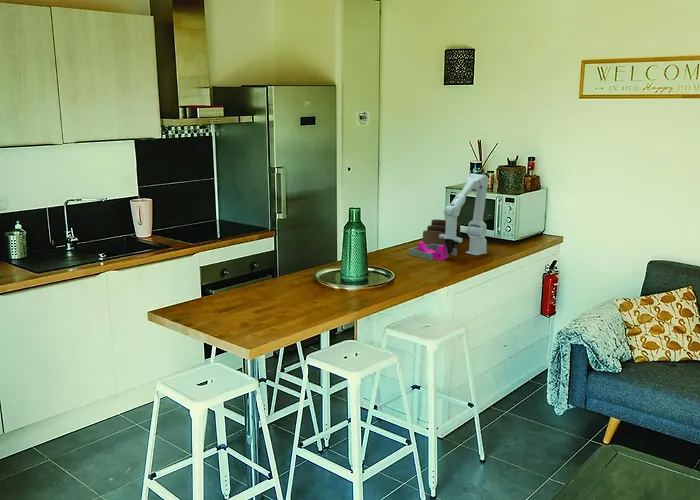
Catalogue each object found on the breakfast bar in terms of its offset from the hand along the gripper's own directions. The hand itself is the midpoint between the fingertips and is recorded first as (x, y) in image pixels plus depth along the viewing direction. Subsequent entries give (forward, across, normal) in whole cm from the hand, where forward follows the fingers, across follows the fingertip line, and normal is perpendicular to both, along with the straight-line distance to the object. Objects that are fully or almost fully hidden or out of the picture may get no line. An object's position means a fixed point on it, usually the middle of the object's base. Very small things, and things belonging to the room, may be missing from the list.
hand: (449, 253), depth 361 cm
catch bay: (+3, -12, 0) cm, 13 cm away
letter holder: (+4, -28, +23) cm, 36 cm away
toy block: (+4, -9, -4) cm, 10 cm away
